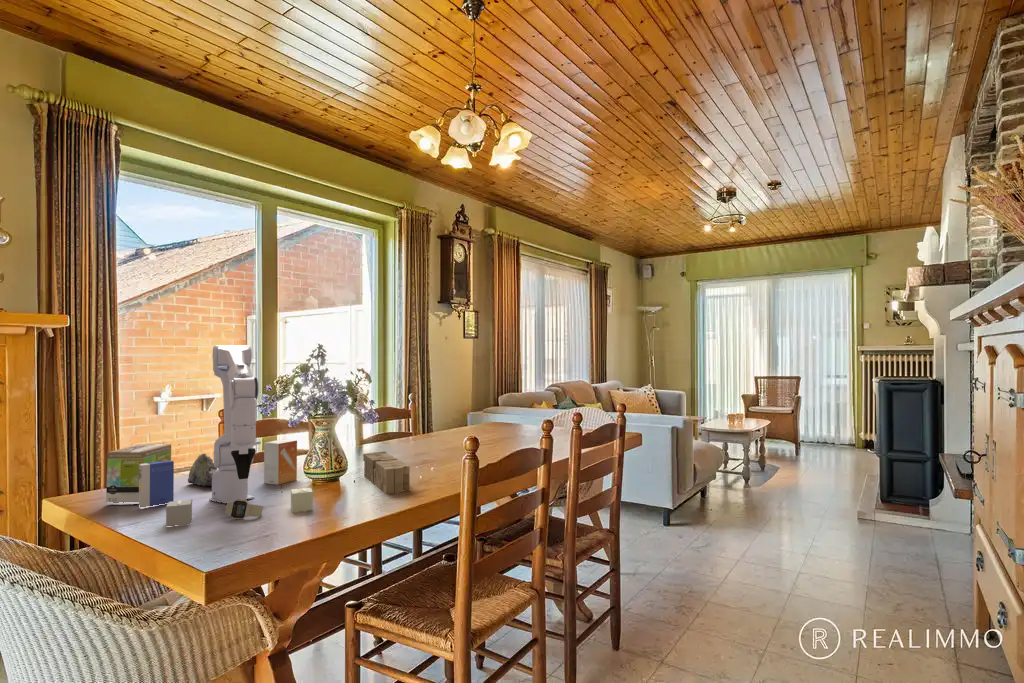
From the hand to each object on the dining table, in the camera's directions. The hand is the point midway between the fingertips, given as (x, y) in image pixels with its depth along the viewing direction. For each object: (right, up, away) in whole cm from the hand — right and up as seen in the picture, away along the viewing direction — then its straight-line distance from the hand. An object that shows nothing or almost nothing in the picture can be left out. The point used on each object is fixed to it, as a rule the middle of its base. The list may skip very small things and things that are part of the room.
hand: (243, 478), depth 145 cm
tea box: (-38, -10, +18) cm, 43 cm away
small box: (-6, -11, +39) cm, 41 cm away
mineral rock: (-28, -11, +34) cm, 45 cm away
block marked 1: (-13, -10, -6) cm, 17 cm away
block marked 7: (+13, -10, +6) cm, 17 cm away
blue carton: (-29, -10, +10) cm, 32 cm away
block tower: (+28, -11, +36) cm, 47 cm away
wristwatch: (0, -10, 0) cm, 10 cm away
